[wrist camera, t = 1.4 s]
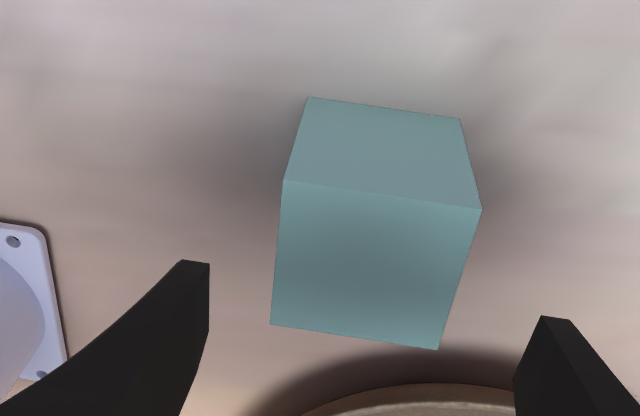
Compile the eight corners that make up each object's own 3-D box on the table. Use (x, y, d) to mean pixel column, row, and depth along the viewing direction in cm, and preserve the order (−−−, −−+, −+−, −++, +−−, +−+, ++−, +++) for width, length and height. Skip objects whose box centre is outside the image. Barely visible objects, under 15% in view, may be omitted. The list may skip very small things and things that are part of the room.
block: (294, 220, 20) (269, 324, 16) (308, 95, 17) (283, 179, 13) (426, 239, 20) (437, 350, 15) (458, 117, 17) (482, 209, 13)
